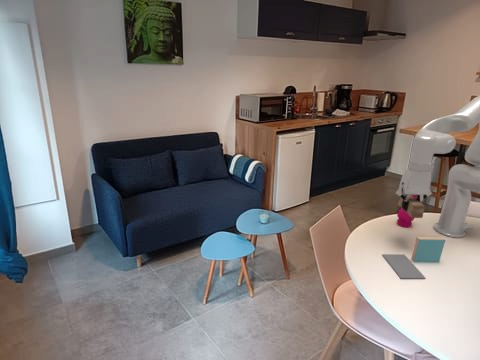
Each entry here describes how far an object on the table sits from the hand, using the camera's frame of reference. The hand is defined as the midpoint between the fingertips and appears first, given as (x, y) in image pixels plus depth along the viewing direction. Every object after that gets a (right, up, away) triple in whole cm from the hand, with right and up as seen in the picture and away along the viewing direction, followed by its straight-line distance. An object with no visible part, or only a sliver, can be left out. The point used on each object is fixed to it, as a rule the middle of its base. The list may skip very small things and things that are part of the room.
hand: (410, 209), depth 133 cm
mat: (-8, -21, -9) cm, 24 cm away
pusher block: (0, -1, 0) cm, 1 cm away
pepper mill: (+9, -10, +24) cm, 27 cm away
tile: (+3, -20, -5) cm, 21 cm away
